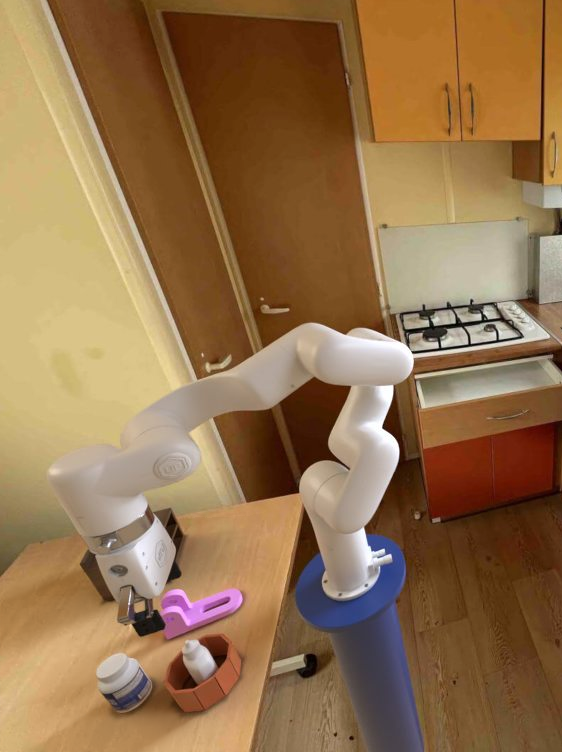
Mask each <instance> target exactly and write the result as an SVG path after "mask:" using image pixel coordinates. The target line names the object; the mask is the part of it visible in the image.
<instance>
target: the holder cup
mask: <svg viewBox="0 0 562 752" xmlns="http://www.w3.org/2000/svg"><path fill="white" fill-rule="evenodd" d="M196 640H198V641H199V643H200V645H202V646H204V647H206V648H207V649H208V651H209V652H210V654H211V656H212V658H214V657H220V656H226V659H225V660H224V661H223V663H222V664H221V665H220V667H218V668H219V669H218V671H217V672H216V673H215V675H214V676H213V677H211V678H209V679H208V680H206V681H205V682H203V683H202V684H200V685H198V686H197V685H196V686H195V687H194V688H184V689H183V687H184V684H185V682H186V681H187V680H188V678H189V677H190V676H191V674H190V673H189V671H188V669H187V668H186V666H185V664H184V662H183V653H182V649H181V650H180V651H179V652H178V654H177V655H176V656H175V657H174V658H173V659H172V660H171V661H170V662H169V664H168V665H167V669H166V673H165V677H164V680H163V685H164V686H165V688H166V689H167V691H168V693H169V694H170V695H171V697H172V698H173V699H174V701H175V703H176V704H177V705H178V706H179V707H180V708H181V709H182V711H183V712H185V713H191V712H192V713H193V712H201V711H205V710H207V709H209V708H211V707H212V706H213V705H215V704H216V703H218V702H219V701H221V700H222V699H224V698H225V697H226V696H227V695H228V693H229V692H230V691H231V689H232V688H233V687H234V686H235V684H236V683H237V681H238V680H239V679H240V678H239V677H240V675H241V669H242V668H241V667H242V659H241V656H240V654H239V653H238V650H237V649H236V647H235V645H234V643H233V641H232V640H231V639H230V638H229V637H227V635H225V634H224V633H222V632H220V633H211V634H210V633H209V634H205V635H202V636H200V637H199V638H197V639H196Z"/></svg>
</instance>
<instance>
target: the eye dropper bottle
mask: <svg viewBox="0 0 562 752" xmlns="http://www.w3.org/2000/svg"><path fill="white" fill-rule="evenodd" d="M181 650H182V653H183V662H184V664H185V666H186V668H187V669H188V671H189V673H190V674H191V675H190V676H191V678H192V679H193V681H194V682H195V684H196V687H197V686H198V685H200V684H202V683H203V682H205V681H206V680H208V679H209V678H211V677H213V676H214V675H215V673H216V672H217V671H218V669H219V668H220V667H219V666H218V665H217V663H216V661H215V659H214V657H212V656H211V654H210V652H209V651H208V649H207V648H206V647H204V646H202V645H200V643H199V641H198V640H197V639H195V638H194V639H186V640H185V641H184V645H183V646H182V648H181Z"/></svg>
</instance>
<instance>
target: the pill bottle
mask: <svg viewBox="0 0 562 752" xmlns="http://www.w3.org/2000/svg"><path fill="white" fill-rule="evenodd" d="M95 676H96V678H97V679H98V682H97V689H98V692H99V693H100V694H101V695H102V696H103V698H104V699H105V700H106V701H107V702H108V703H109V705H110V706H111V707H112V708H113V709H114V710H115V712H117V713H121V714H122V713H129V712H131V711H133V710H134V709H137V708H138V707H140V705H142V704H143V703H144V702H145V701H146V700H147V698H148V697H149V695H150V694H151V692H152V689H153V682H152V680H151V679H150V677H149V675H148V674H147V672H146V671H145V670H144V669H143V667H142V665H141V664H140V662H139V661H138V660H137V659H136V658H134V657H128V656H127V655H126V653H124V652H117V653H115V654H112V655H110V656H109V657H107V658H106V659H105V660H103V661H102V662H101V663H100V664H99V666H98V667H97V669H96V671H95Z"/></svg>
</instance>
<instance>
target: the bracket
mask: <svg viewBox="0 0 562 752" xmlns="http://www.w3.org/2000/svg"><path fill="white" fill-rule="evenodd" d="M226 602H227V603H226ZM242 603H243V595H242V593H241V591H240V590H239V589H238V588H228V589H225V590H222V591H220V592H218V593H215V594H212V595H210V596H207V597H204V598H202V599H199V600H196V601H194V602H190V600H189V598H188V596H187V594H186V593H185V591H184V590H182V589H179V588H176V589H170V590H168V591H166V592H165V593H164V594H163V595H162V597H161V601H160V606H161V608H162V609H161V611H159V613H160V615H161V617H162V619H163V621H164V622H165V624H166V626H165V629H164V630H162V633H163V635H164V637H165V638H166V640H167V641H168V640H171V639H173V638H176V637H179V636H180V635H183V634H185V633H188V632H190V631H192V630H195V629H197V628H200V627H202V626H205V625H207V624H210V623H212V622H214V621H217V620H220V619H222V618H225V617H228V616H229V615H231V614H233V613H234V612H236V611H237V610H238V609H239V608H240V606H241V605H242ZM214 607H215V608H214ZM207 610H208V611H207Z"/></svg>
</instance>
